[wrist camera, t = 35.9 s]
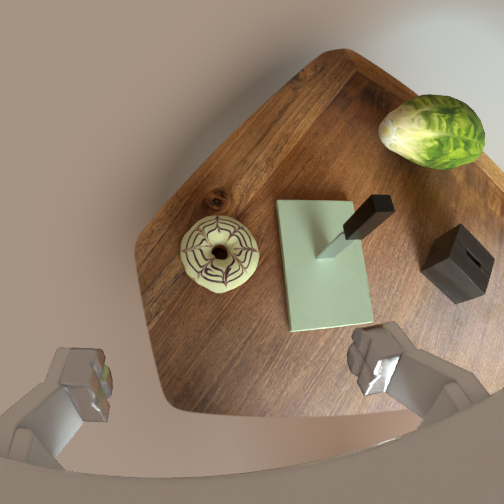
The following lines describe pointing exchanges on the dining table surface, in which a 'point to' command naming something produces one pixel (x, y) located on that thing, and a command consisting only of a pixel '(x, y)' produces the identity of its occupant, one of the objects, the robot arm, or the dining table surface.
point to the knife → (360, 224)
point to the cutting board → (321, 266)
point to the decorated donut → (204, 262)
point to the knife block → (459, 265)
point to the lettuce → (434, 132)
